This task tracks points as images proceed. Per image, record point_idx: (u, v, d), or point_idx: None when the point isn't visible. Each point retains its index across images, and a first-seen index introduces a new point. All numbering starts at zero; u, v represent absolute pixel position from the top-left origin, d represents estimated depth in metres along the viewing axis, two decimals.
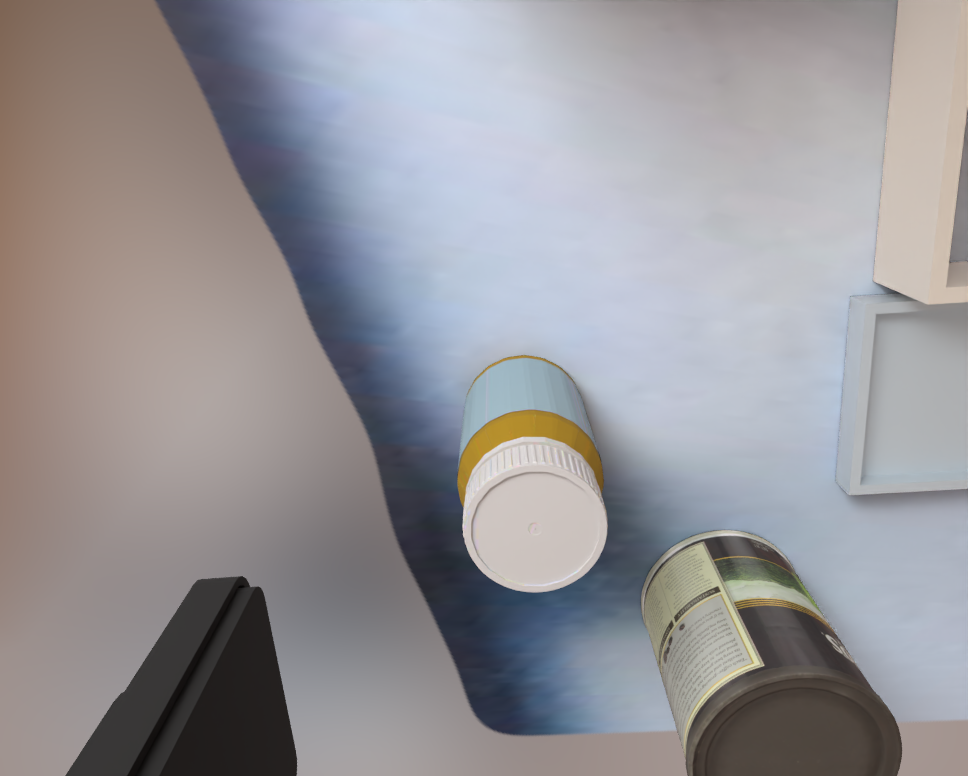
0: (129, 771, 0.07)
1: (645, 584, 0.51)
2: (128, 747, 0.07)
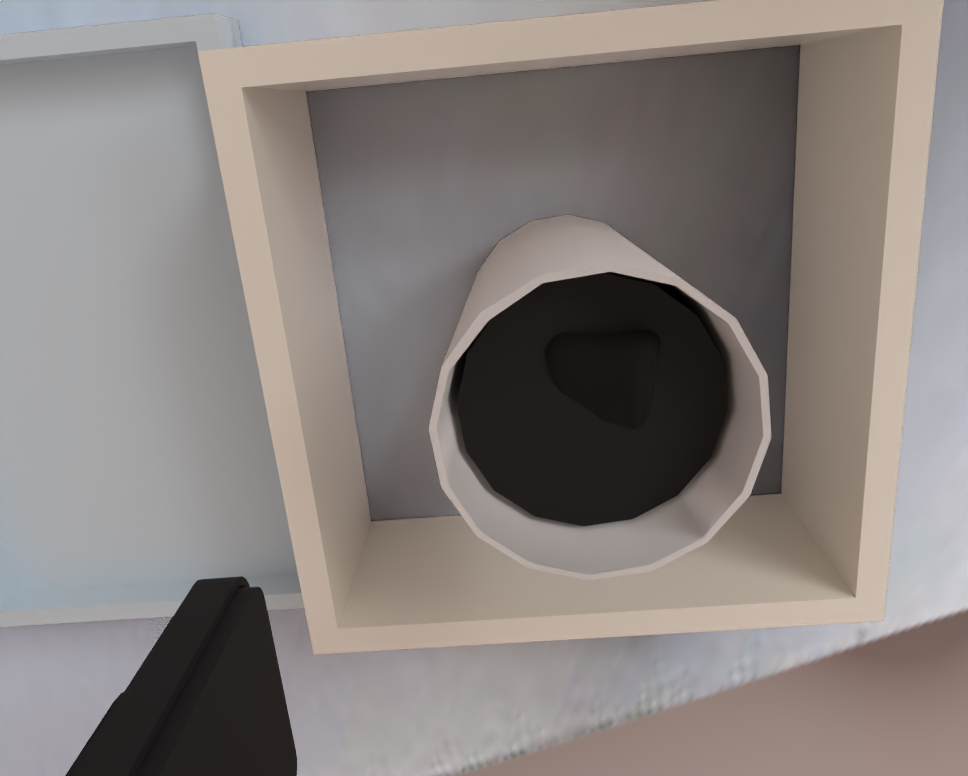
0: (129, 771, 0.07)
1: None
2: (128, 747, 0.07)
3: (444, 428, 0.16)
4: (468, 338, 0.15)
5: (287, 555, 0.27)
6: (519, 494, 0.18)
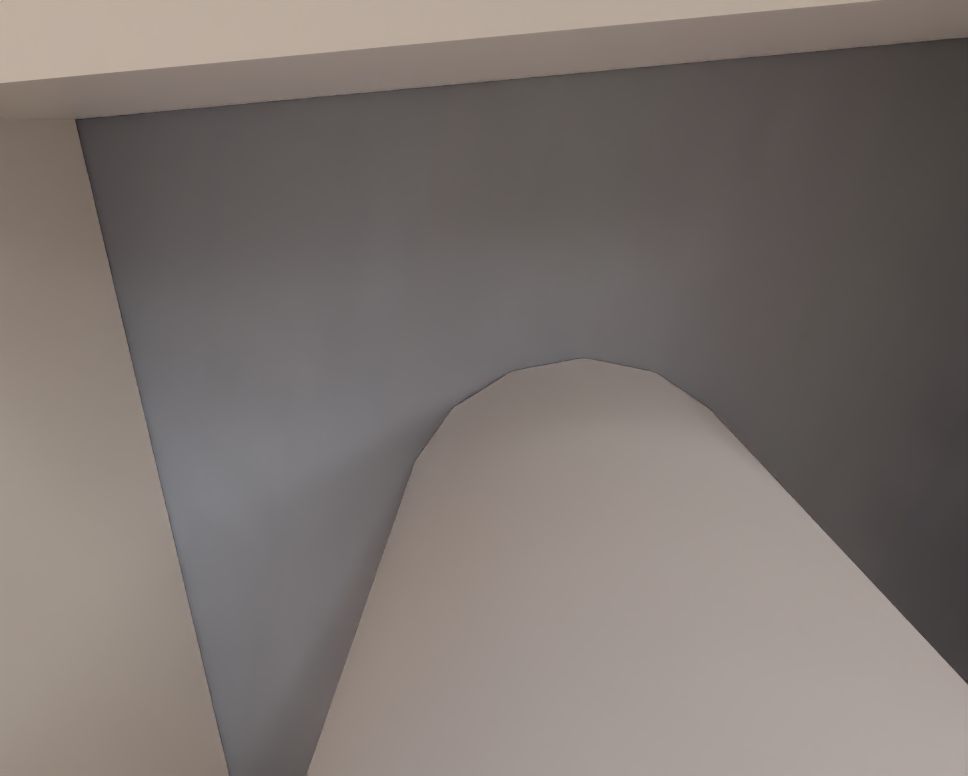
0: None
1: None
2: None
3: None
4: None
5: None
6: None
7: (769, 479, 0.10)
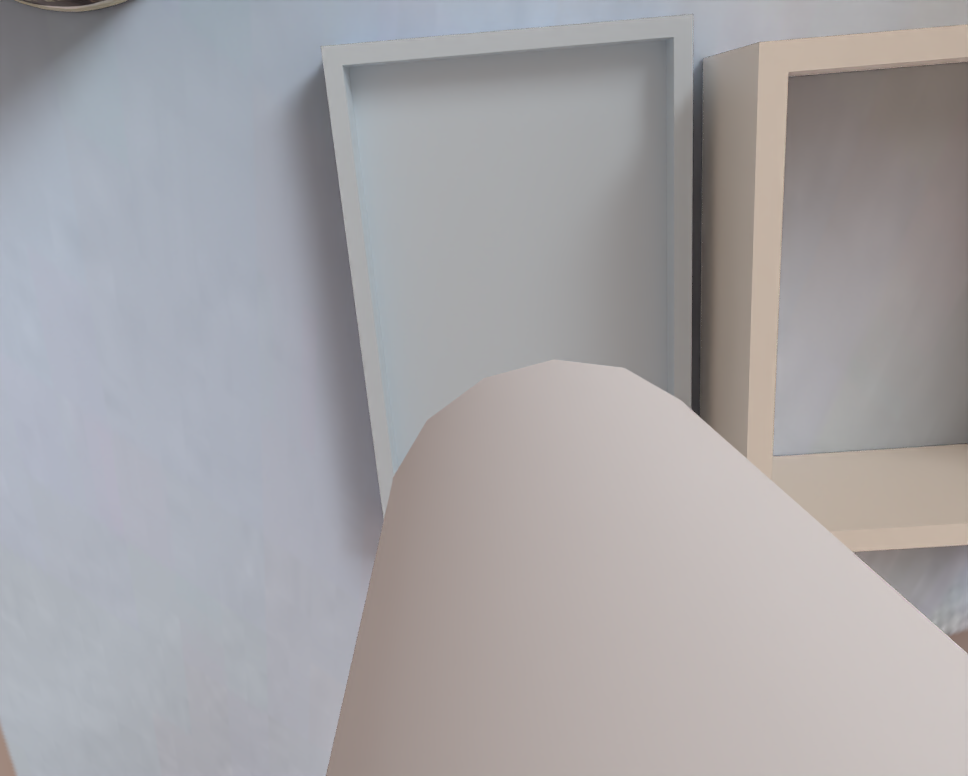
0: None
1: None
2: None
3: None
4: None
5: None
6: None
7: (747, 464, 0.10)
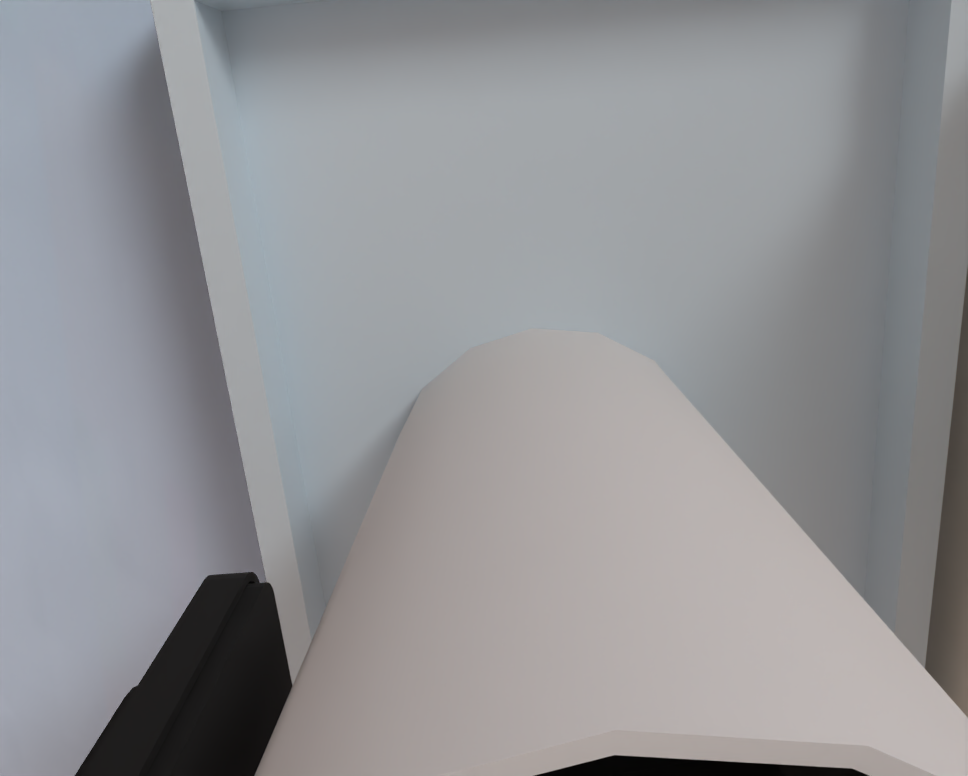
0: (144, 763, 0.07)
1: None
2: (142, 739, 0.07)
3: None
4: None
5: None
6: None
7: (688, 409, 0.11)
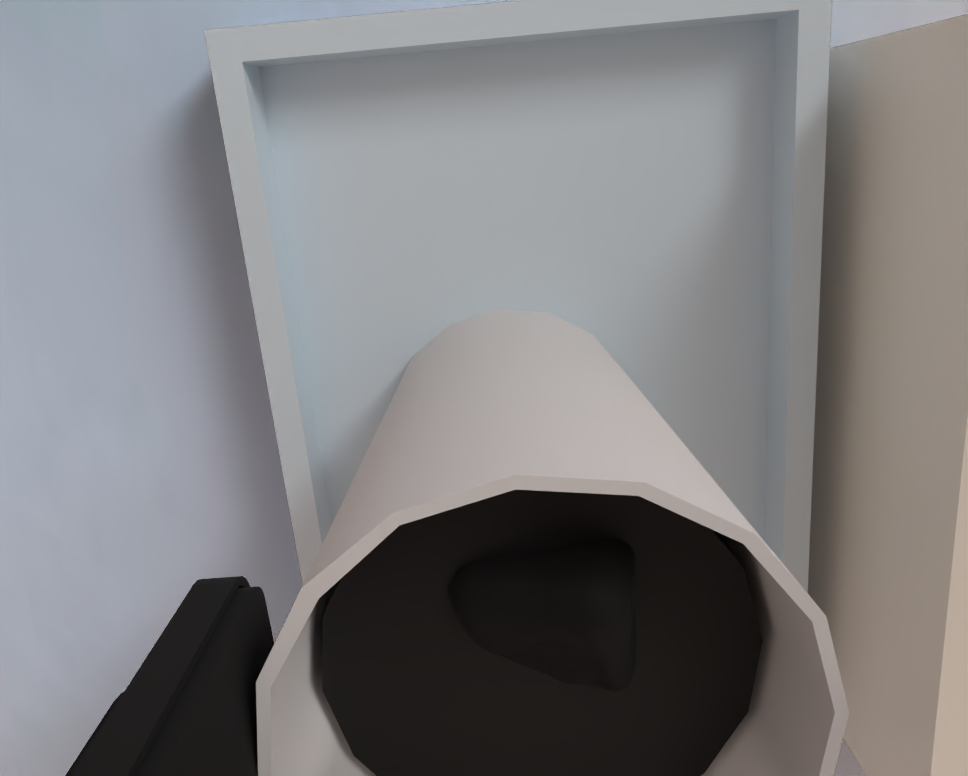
0: (129, 771, 0.07)
1: None
2: (128, 747, 0.07)
3: (299, 749, 0.10)
4: (291, 630, 0.08)
5: None
6: None
7: (608, 362, 0.15)
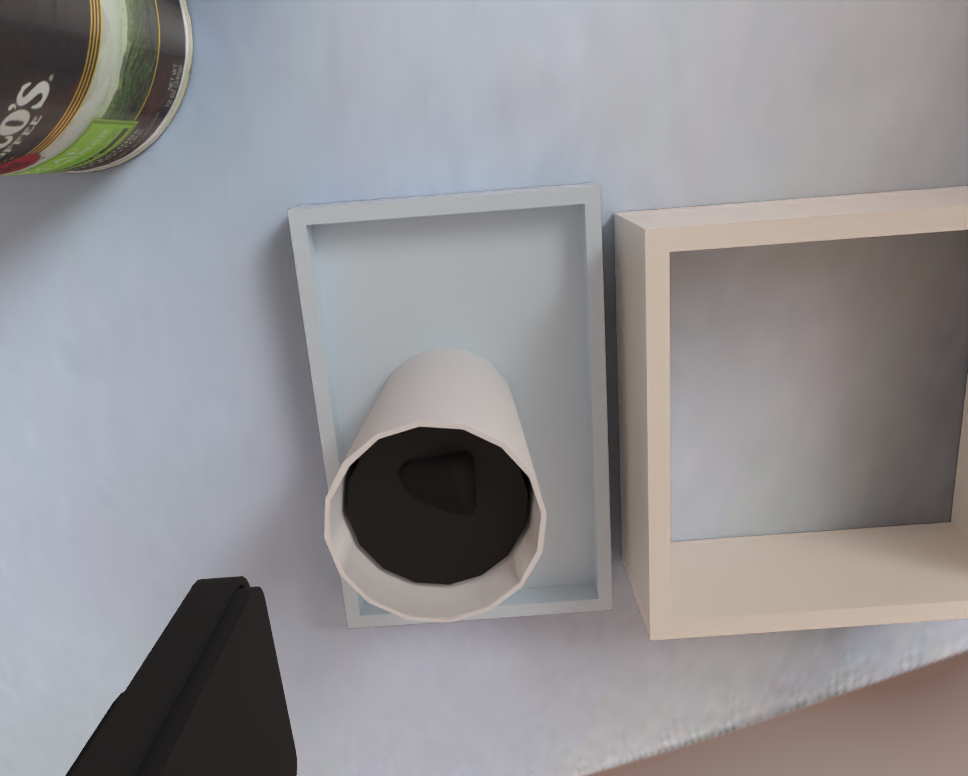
0: (129, 771, 0.07)
1: None
2: (128, 747, 0.07)
3: (338, 534, 0.24)
4: (339, 478, 0.23)
5: (579, 570, 0.35)
6: (401, 569, 0.26)
7: (487, 378, 0.29)
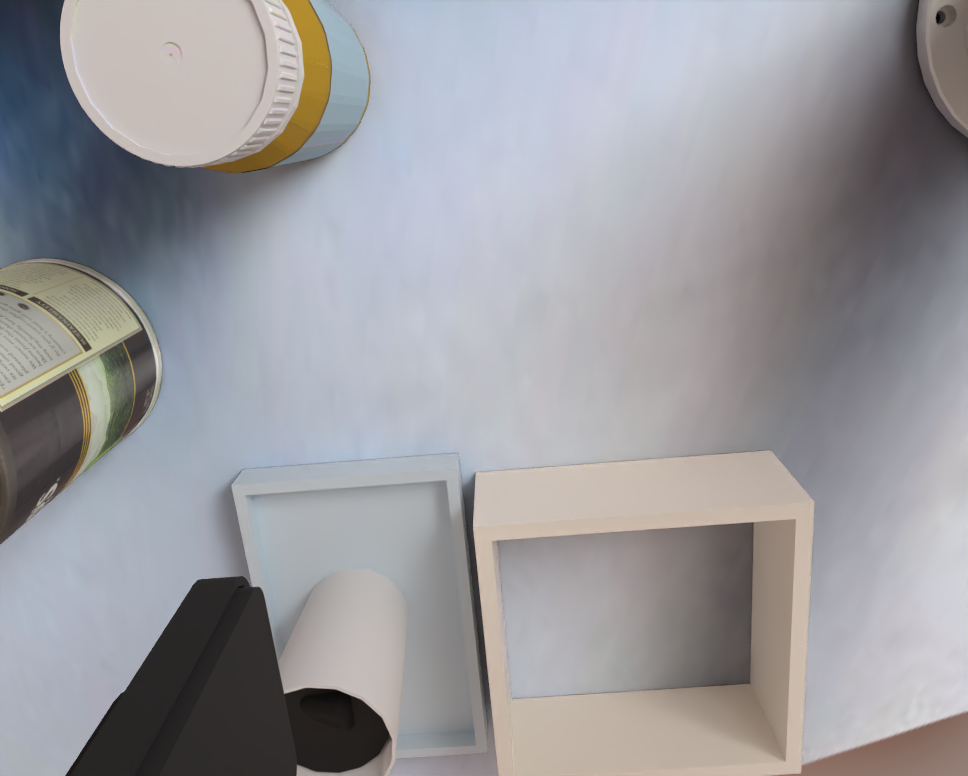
0: (129, 771, 0.07)
1: (65, 262, 0.39)
2: (128, 747, 0.07)
3: None
4: None
5: (464, 720, 0.47)
6: (305, 763, 0.37)
7: (377, 606, 0.41)
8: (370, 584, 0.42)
